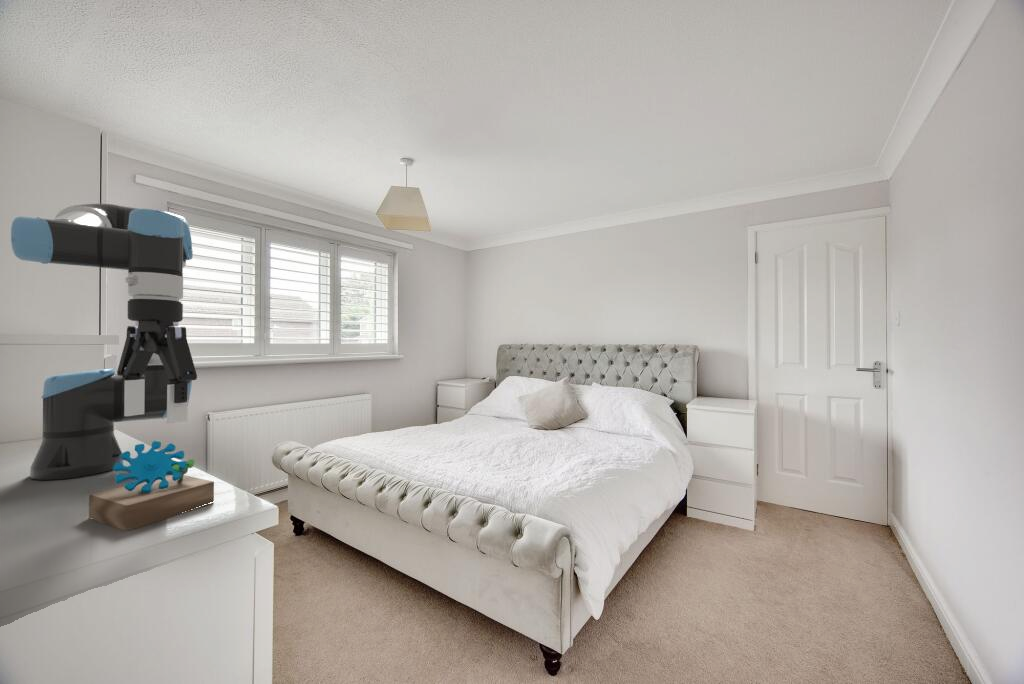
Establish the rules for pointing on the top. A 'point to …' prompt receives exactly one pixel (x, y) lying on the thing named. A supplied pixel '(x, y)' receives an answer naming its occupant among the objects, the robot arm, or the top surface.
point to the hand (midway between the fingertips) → (155, 418)
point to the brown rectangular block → (149, 502)
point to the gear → (152, 467)
